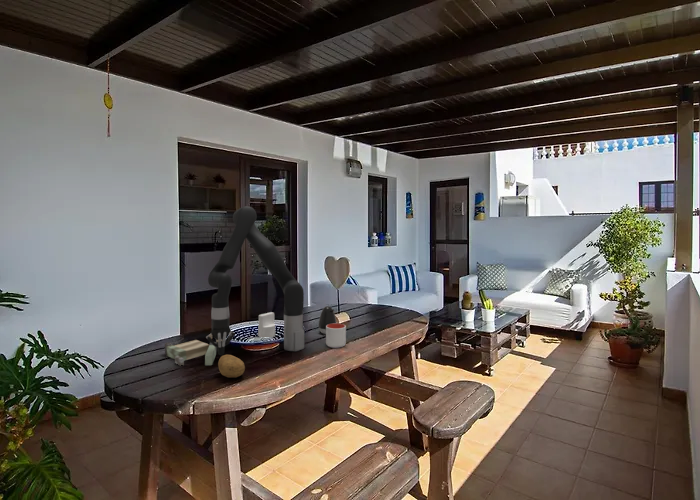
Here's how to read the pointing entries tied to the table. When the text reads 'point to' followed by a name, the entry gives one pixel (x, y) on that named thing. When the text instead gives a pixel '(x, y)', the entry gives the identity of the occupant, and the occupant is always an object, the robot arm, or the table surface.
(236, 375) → the potato
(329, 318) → the dark grey rounded piece
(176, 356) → the stool top
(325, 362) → the table surface
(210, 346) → the leg
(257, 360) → the table surface
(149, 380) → the table surface
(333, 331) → the cup
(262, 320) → the base with upright slab
